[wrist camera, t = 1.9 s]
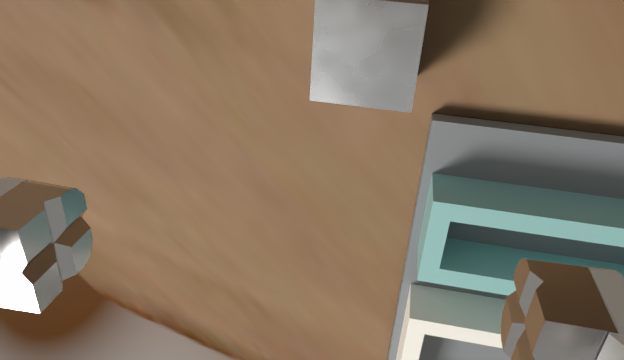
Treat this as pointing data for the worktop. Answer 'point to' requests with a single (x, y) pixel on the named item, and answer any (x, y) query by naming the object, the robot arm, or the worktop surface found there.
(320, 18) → the steel block
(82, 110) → the worktop surface
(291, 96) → the worktop surface
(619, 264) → the holder
